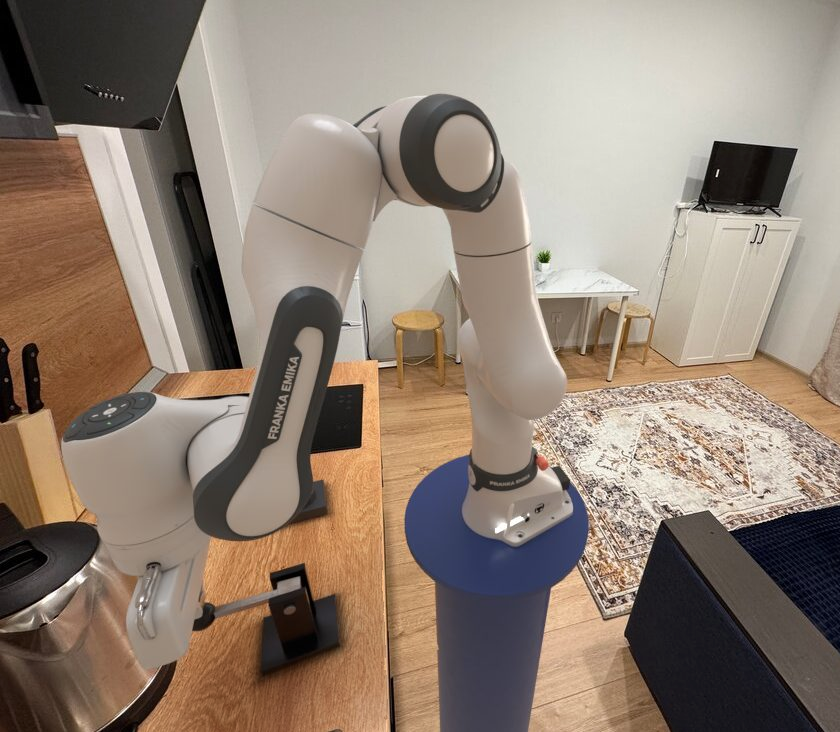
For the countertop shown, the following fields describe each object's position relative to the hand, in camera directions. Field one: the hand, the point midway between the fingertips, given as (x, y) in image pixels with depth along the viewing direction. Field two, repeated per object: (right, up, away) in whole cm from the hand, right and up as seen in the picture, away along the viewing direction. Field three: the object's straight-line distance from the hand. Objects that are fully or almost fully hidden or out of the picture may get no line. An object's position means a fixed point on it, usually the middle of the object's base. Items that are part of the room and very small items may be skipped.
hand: (196, 609), depth 52 cm
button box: (-3, +2, +31) cm, 31 cm away
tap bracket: (+8, -9, +10) cm, 16 cm away
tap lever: (+4, -2, +4) cm, 6 cm away
